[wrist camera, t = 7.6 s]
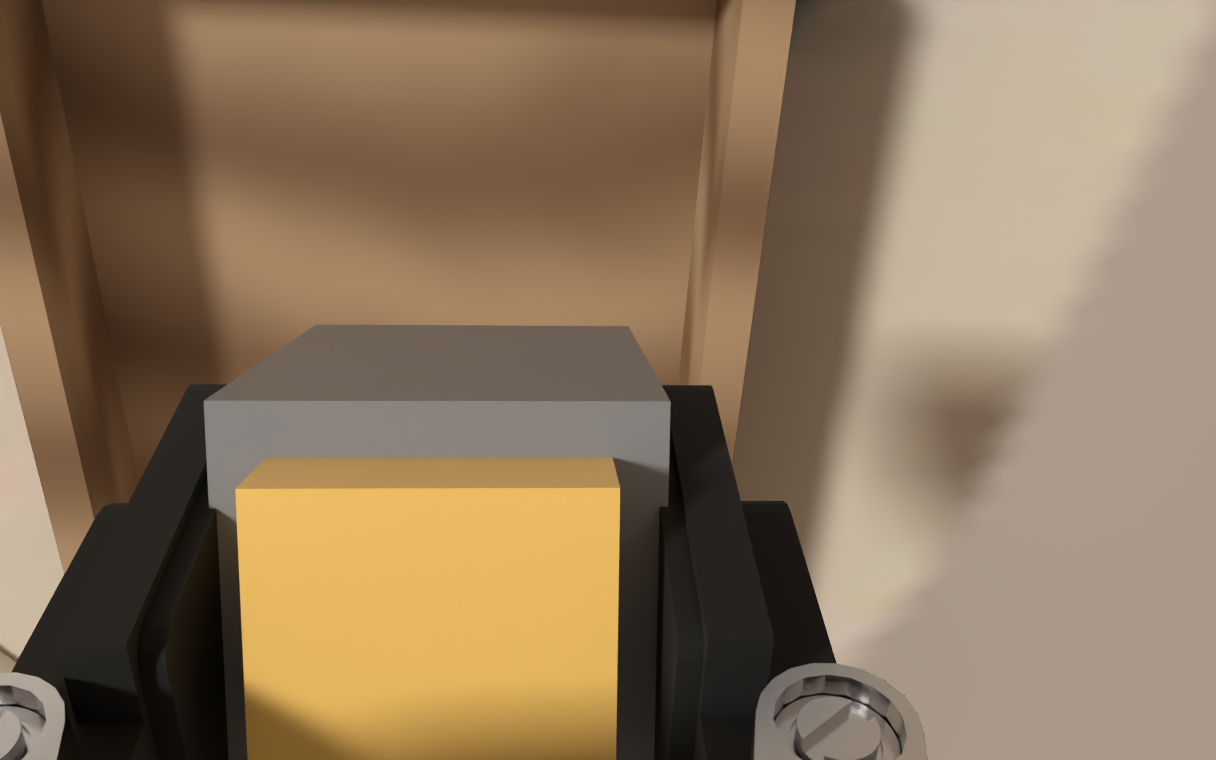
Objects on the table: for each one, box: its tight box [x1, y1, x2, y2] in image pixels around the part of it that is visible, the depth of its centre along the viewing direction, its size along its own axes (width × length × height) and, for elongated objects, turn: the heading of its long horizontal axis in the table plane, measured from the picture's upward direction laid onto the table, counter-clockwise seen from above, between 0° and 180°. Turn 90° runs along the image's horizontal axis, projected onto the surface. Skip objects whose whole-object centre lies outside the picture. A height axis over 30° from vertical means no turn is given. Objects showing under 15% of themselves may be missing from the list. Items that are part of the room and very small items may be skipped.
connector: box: [204, 325, 671, 760], centre depth 12 cm, size 4×4×6 cm
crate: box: [0, 0, 796, 574], centre depth 28 cm, size 24×16×4 cm, turn 177°
